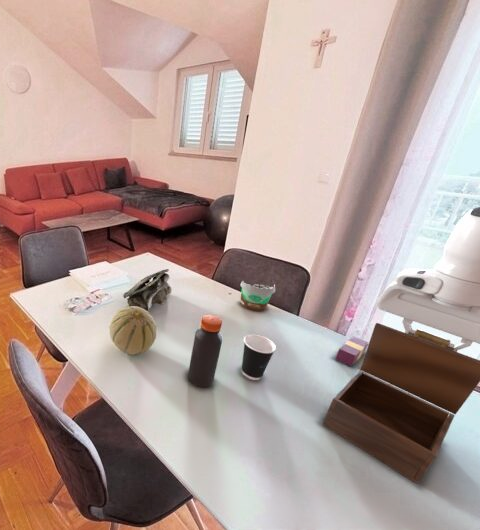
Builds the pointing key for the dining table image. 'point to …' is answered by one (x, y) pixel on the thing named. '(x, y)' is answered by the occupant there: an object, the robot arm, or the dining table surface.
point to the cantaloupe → (133, 330)
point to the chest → (389, 424)
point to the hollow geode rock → (150, 291)
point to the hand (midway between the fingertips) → (427, 344)
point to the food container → (255, 296)
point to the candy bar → (351, 351)
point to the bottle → (205, 351)
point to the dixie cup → (256, 355)
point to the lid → (422, 366)
